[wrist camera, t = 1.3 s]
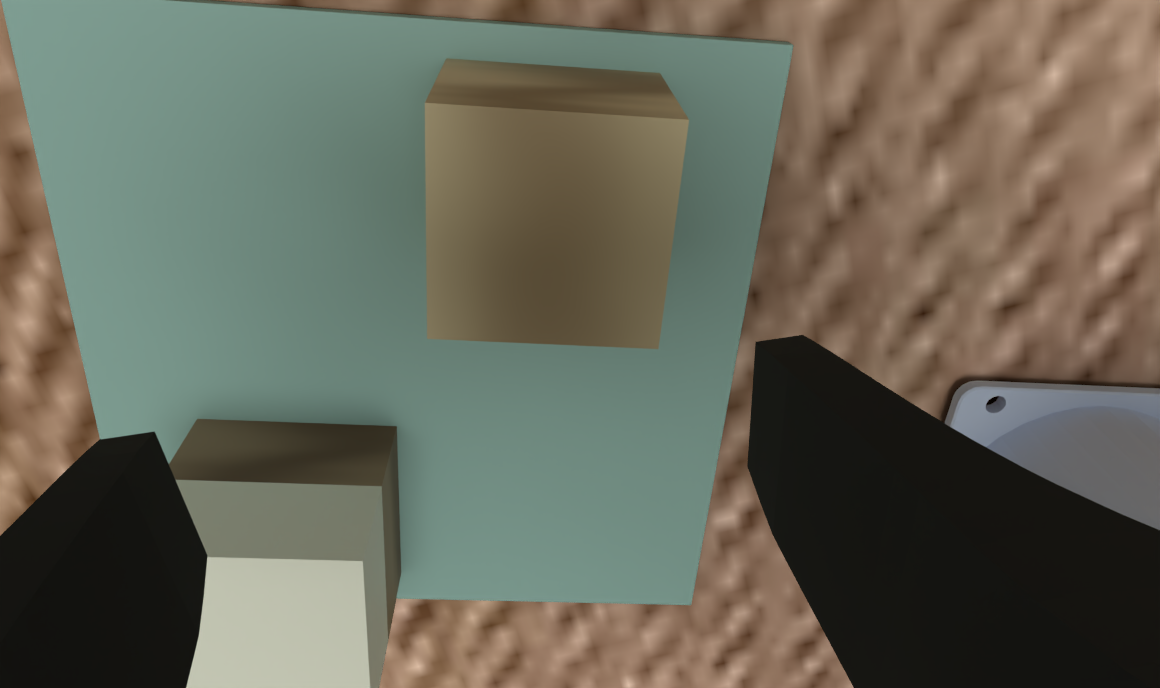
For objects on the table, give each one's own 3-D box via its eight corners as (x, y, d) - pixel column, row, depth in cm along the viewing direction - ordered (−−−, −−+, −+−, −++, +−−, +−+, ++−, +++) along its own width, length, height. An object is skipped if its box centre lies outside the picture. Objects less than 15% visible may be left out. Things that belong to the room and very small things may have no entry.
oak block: (659, 73, 18) (688, 119, 15) (637, 267, 21) (658, 349, 17) (446, 58, 18) (424, 102, 15) (446, 258, 20) (427, 338, 17)
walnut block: (397, 425, 22) (381, 486, 20) (401, 572, 25) (388, 640, 23) (197, 418, 22) (159, 479, 20) (221, 568, 24) (189, 637, 22)
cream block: (381, 486, 20) (362, 560, 18) (388, 640, 23) (372, 723, 20) (159, 479, 20) (112, 555, 18) (189, 636, 22) (151, 721, 20)
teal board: (788, 42, 19) (793, 45, 18) (689, 595, 26) (690, 604, 26) (9, -14, 17) (-2, -12, 17) (140, 582, 25) (134, 592, 25)
